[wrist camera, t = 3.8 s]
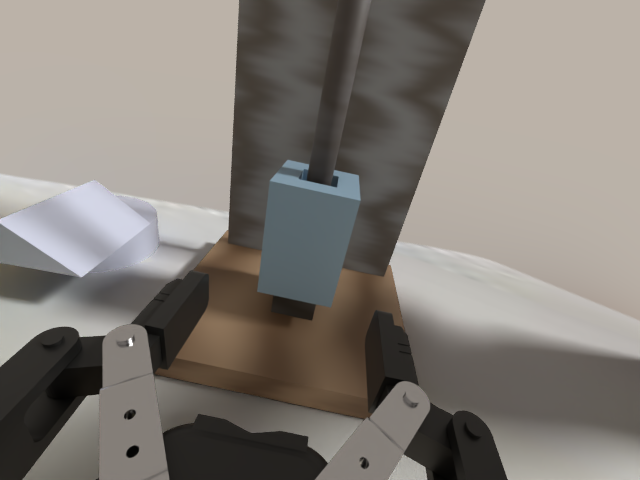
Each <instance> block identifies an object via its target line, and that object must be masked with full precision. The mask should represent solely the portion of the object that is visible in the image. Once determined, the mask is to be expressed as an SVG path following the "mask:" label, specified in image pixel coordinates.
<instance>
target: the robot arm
mask: <svg viewBox="0 0 640 480" xmlns="http://www.w3.org/2000/svg"><path fill="white" fill-rule="evenodd" d="M208 301H209V275H208V274H207V273H202V272H198V271H193V270H192V271H190V272H189V273H188V274H187V276H186V277H185V278H184V279H183V280H182V279H176V280H174V281H172V282H170V283H168V284H167V285H166V286H165V287H164V288H163V289H162V290H161V291H160V293H159V294H158V295H157V296H156V297H155V298H154V300H152V301H151V302H150V303H149V304H148V305H147V307H146V308H145V309H144V310H143V311H142V312H141V313H140V314H139V315H138V316H137V317H136V319H135V320H134V321H133V322H132V323H131V324H129V325H123V326H120V327H118V328H116V329H114V330H112V331H111V332H109V333H108V334H107V335H106V336H93V337H79V333H78V331H77V330H76V329H74V328H71V327H57V328H52V329H49V330H47V331H44V332H42V333H40V334H39V335H37V336H36V337H34V338H33V339H32V340H31V341H30V342H28V343H27V344H26V345H25V346H24V347H23V348H22V349H20V350H19V351H18V352H17V353H16V354H15V355H14V356H12V357H11V358H10V359H9V360H8V361H7V362H6V363H4V364H3V365H2V366H1V367H0V480H22V479H23V478H24V477H25V475H26V474H27V473H28V471H29V470H30V469H31V467H32V466H33V465H34V464H35V462H36V461H37V460H38V458H39V457H40V456H41V454H42V453H43V452H44V451H45V449H46V448H47V447H48V445H49V444H50V443H51V442H52V440H53V439H54V438H55V436H56V435H57V434H58V432H59V431H60V430H61V429H62V427H63V426H64V425H65V423H66V422H67V421H68V419H69V418H70V417H71V416H72V414H73V413H74V412H75V410H76V409H77V408H78V406H79V405H80V404H81V403H82V401H83V400H84V399H85V397H86V396H88V395H97V394H100V395H99V478H98V479H96V480H388V478H389V477H390V475H391V473H392V472H393V470H394V468H395V467H396V465H397V464H398V462H399V460H400V459H401V457H402V455H403V454H404V455H406V456H407V457H409V458H411V459H413V460H414V461H416V462H418V463H419V464H421V465H423V466H425V467H426V473H427V480H508V479H507V476H506V474H505V471H504V468H503V465H502V462H501V459H500V456H499V453H498V451H497V448H496V445H495V442H494V439H493V436H492V434H491V432H490V430H489V428H488V427H487V425H486V424H485V423H484V422H483V421H482V420H481V419H480V418H479V417H478V416H476V415H474V414H473V413H471V412H468V411H458V412H456V413H455V414H454V416H453V415H451V414H450V413H448V412H446V411H444V410H442V409H440V408H438V407H436V406H435V405H433V404H432V403H431V402H430V401H429V398H428V396H427V395H426V393H425V392H424V391H423V390H422V389H421V388H420V387H419V385H418V381H417V376H416V372H415V367H414V363H413V358H412V355H411V349H410V347H409V346H410V345H409V340H408V336H407V334H406V333H405V331H404V330H403V328H402V327H401V326H397V325H394V320H393V315H392V313H389V312H384V311H379V310H375V312H374V315H373V317H372V320H371V323H370V325H369V328H368V331H367V334H366V338H365V359H366V378H367V397H368V413H372V415H371V416H370V417H367V418H366V419H365V420H364V421H363V422H362V423H361V424H360V426H359V427H358V428H357V429H356V430H355V432H354V433H353V434H352V435H351V437H350V438H349V439H348V440H347V441H346V443H345V444H344V445H343V446H342V447H341V449H340V450H339V451H338V452H337V454H336V455H335V456H334V457H333V458H332V460H331V461H330V462H329V463H327V462H326V461H325V459H324V458H323V457H322V456H321V455H320V454H318V453H317V452H316V451H315V450H313V449H312V448H310V447H308V446H307V444H308V437H307V436H302V435H297V434H293V433H288V432H283V431H277V432H264V433H250V432H248V431H246V430H244V429H242V428H240V427H238V426H236V425H235V424H233V423H231V422H229V421H227V420H225V419H220V418H215V417H211V416H206V415H201V414H198V416H197V418H196V420H195V422H194V423H190V424H185V425H181V426H178V427H175V428H172V429H170V430H168V431H166V432H164V433H162V428H161V421H160V415H159V408H158V402H157V395H156V388H155V382H154V374H155V372H156V371H157V369H158V368H161V369H165V370H168V369H169V367H170V366H171V364H172V362H173V361H174V359H175V358H176V356H177V355H178V353H179V351H180V350H181V348H182V347H183V345H184V344H185V342H186V340H187V339H188V337H189V336H190V334H191V333H192V331H193V329H194V328H195V326H196V325H197V323H198V322H199V320H200V319H201V317H202V315H203V314H204V312H205V310H206V308H207V305H208Z"/></svg>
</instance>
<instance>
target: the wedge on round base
mask: <svg viewBox="0 0 640 480" xmlns="http://www.w3.org/2000/svg"><path fill="white" fill-rule="evenodd" d="M158 246H159V232H158V220H157V211H156V209H155V208H154V207H153V206H152V205H151V204H149V203H147V202H145V201H143V200H140V199H136V198H132V197H126V196H117V195H114V194H113V193H111V192H110V191H109V190H107V189H106V188H105V187H104V186H102V185H101V184H100V183H99V182H97V181H96V180H93V181H90V182H88V183H85V184H83V185H81V186H78V187H76V188H73V189H71V190H69V191H66V192H64V193H61V194H59V195H56V196H54V197H52V198H49V199H47V200H44V201H42V202H40V203H37V204H35V205H32V206H30V207H27V208H25V209H23V210H20V211H18V212H15V213H13V214H11V215H8V216H6V217H3V218H1V219H0V263H3V264H9V265H14V266H20V267H26V268H31V269H37V270H43V271H48V272H54V273H60V274H65V275H71V276H77V277H83V276H84V275H85V274H87V273H95V272H106V271H113V270H118V269H122V268H126V267H129V266H132V265H135V264H137V263H139V262H141V261H143V260H145V259H147V258H148V257H150V256H151V255H152V254H153V253H154V252H155V251H156V250H157V248H158Z"/></svg>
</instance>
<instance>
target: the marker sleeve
mask: <svg viewBox="0 0 640 480" xmlns="http://www.w3.org/2000/svg"><path fill="white" fill-rule="evenodd" d="M308 169H309V164H305V163H300V162H295V161H291V160H287V161H286V162H285V163H284V165H283V166H282V167H281V168H280V169H279V171H278V172H277V173H276V174H275V175H274V176H273V178H272V179H271V180H270V183H269V192H268V201H267V209H266V218H265V227H264V236H263V245H262V254H261V263H260V271H259V280H258V289H257V292H261V293H265V294H270V295H275V296H279V297H284V298H289V299H293V300H298V301H303V302H307V303H312V304H316V305H321V306H326V307H330V308H331V306H332V302H333V298H334V295H335V291H336V288H337V284H338V280H339V277H340V273H341V270H342V266H343V262H344V259H345V255H346V252H347V248H348V244H349V241H350V237H351V234H352V230H353V226H354V223H355V219H356V215H357V212H358V208H359V205H360V201H361V199H360V186H359V175H355V174H350V173H346V172H341V171H337V170H334V173H333V178H332V182H331V186H328V185H323V184H319V183H314V182H309V181H306V180H307V174H308Z"/></svg>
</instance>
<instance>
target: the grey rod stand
mask: <svg viewBox="0 0 640 480" xmlns="http://www.w3.org/2000/svg"><path fill="white" fill-rule="evenodd" d="M484 3H485V0H239V17H238V19H239V20H238V41H237V61H236V82H235V83H236V84H235V103H234V104H235V105H234V124H233V146H232V167H231V188H230V210H229V230H227V231H226V232H225V234H224V235H223V236H222V237H221V238H220V239H219V241H218V242H217V243H216V244H215V245H214V246H213V248H212V249H211V250H210V251H209V252H208V254H207V255H206V256H205V257H204V258H203V259H202V261H201V262H200V263H199V264H198V265H197V266H196V268H195V269H194V270H193V271H198V272H202V273H207V274H208V275H209V301H208V305H207V308H206V310H205V312H204V314H203V315H202V317H201V319H200V320H199V322H198V323H197V325H196V326H195V328H194V329H193V331H192V333H191V334H190V336H189V337H188V339H187V340H186V342H185V344H184V345H183V347H182V348H181V350H180V351H179V353H178V355H177V356H176V358H175V359H174V361H173V362H172V364H171V366H170V367H169V369H168V370H165V369H161V368H158V369H157V371H156V372H155V374H156V375H160V376H165V377H170V378H175V379H179V380H184V381H189V382H193V383H198V384H203V385H207V386H212V387H217V388H222V389H226V390H231V391H236V392H240V393H245V394H250V395H255V396H259V397H264V398H269V399H273V400H278V401H283V402H287V403H292V404H297V405H302V406H306V407H311V408H316V409H320V410H325V411H330V412H335V413H339V414H344V415H349V416H353V417H358V418H363V419H366V418H367V417H370V416H371V415H372V413H368V397H367V378H366V359H365V338H366V334H367V331H368V328H369V325H370V323H371V320H372V317H373V315H374V312H375V310H379V311H384V312H389V313H392V315H393V320H394V325H397V326H401V327H402V328H403V330H404V331H405V329H404V325H403V320H402V315H401V311H400V306H399V302H398V297H397V292H396V288H395V283H394V278H393V274H392V269H391V265H388V264H389V262H390V259H391V256H392V254H393V251H394V248H395V245H396V243H397V240H398V237H399V235H400V231H401V229H402V226H403V224H404V221H405V218H406V215H407V213H408V210H409V207H410V204H411V202H412V199H413V196H414V194H415V191H416V188H417V185H418V183H419V180H420V177H421V174H422V172H423V169H424V166H425V164H426V161H427V158H428V156H429V153H430V150H431V147H432V145H433V142H434V139H435V137H436V134H437V131H438V128H439V126H440V123H441V120H442V117H443V115H444V112H445V109H446V107H447V104H448V101H449V98H450V95H451V93H452V90H453V87H454V85H455V82H456V79H457V77H458V74H459V71H460V68H461V66H462V63H463V60H464V58H465V55H466V52H467V49H468V47H469V44H470V41H471V39H472V36H473V33H474V30H475V27H476V25H477V22H478V19H479V17H480V14H481V11H482V9H483V6H484ZM287 160H291V161H295V162H300V163H305V164H309V169H308V174H307V180H306V181H309V182H314V183H319V184H323V185H328V186H331V182H332V178H333V173H334V170H337V171H341V172H346V173H350V174H355V175H359V186H360V199H361V201H360V205H359V208H358V212H357V215H356V219H355V223H354V226H353V230H352V234H351V237H350V241H349V244H348V248H347V252H346V255H345V259H344V262H343V266H342V270H341V273H340V277H339V280H338V284H337V288H336V291H335V295H334V298H333V302H332V306H331V308H330V307H326V306H321V305H316V304H312V303H307V302H303V301H298V300H293V299H289V298H284V297H279V296H275V295H270V294H265V293H261V292H257V289H258V280H259V271H260V263H261V254H262V245H263V236H264V227H265V218H266V209H267V201H268V192H269V183H270V180H271V179H272V178H273V176H274V175H275V174H276V173H277V172H278V171H279V169H280V168H281V167H282V166H283V165H284V163H285V162H286V161H287Z"/></svg>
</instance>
